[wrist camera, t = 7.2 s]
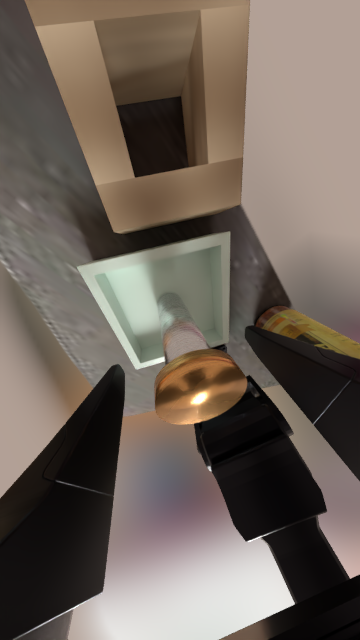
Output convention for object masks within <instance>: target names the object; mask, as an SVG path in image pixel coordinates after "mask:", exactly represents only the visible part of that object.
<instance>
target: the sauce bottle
mask: <svg viewBox="0 0 360 640" xmlns="http://www.w3.org/2000/svg"><path fill="white" fill-rule="evenodd" d="M255 326H256V327H259V328H262V329H265V330H268V331H271V332H274V333H277V334H280V335H284V336H287V337H290V338H293V339H296V340H299V341H302V342H305V343H308V344H312V345H314V346H318V347H321V348H324V349H327V350H331V351H334V352H337V353H341V354H344V355H348V356H351V357H355V358H359V359H360V344H359V343H357V342H355V341H353V340H351V339H349V338H348V337H346V336H344V335H342V334H340V333H338V332H336V331H334V330H332V329H330V328H328V327H326V326H324V325H322V324H321V323H319V322H317V321H315V320H313V319H311V318H309V317H307V316H305V315H303V314H302V313H299V312H298V311H296V310H292V309H290V308H288V307H285V306H281V305H280V306H275V307H272V308H270V309H268V310H267V311H266V312H264V313H263V314H262V315H261V316H260V317H259V319H258V320H257V323H256V325H255Z"/></svg>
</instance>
